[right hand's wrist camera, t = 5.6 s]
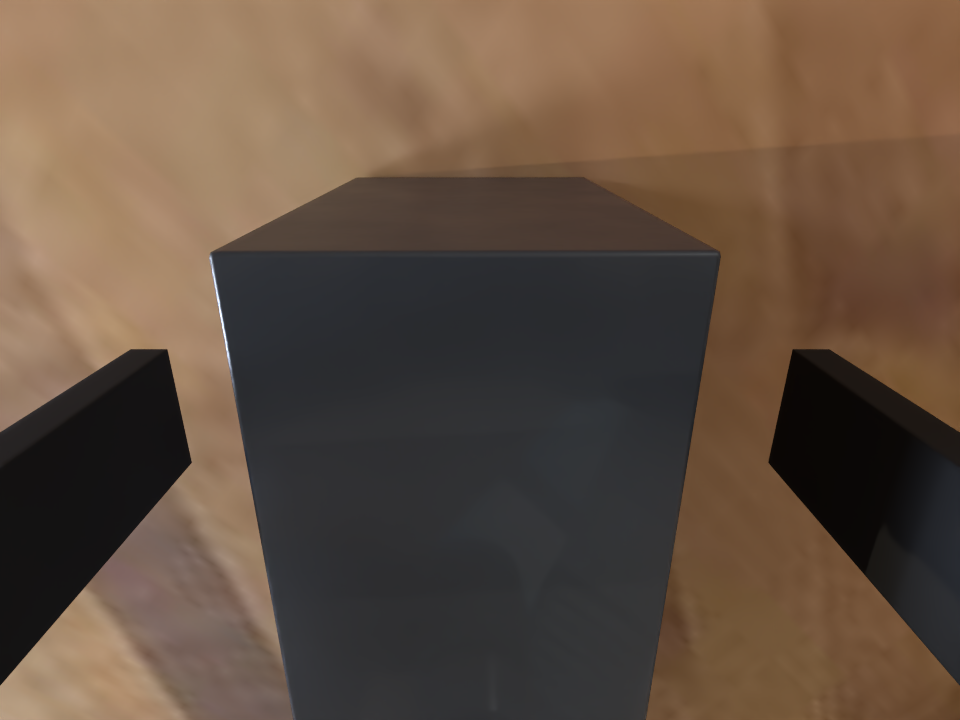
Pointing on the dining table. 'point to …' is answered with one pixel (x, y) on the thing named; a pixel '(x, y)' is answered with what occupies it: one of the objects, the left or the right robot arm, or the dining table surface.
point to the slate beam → (467, 441)
